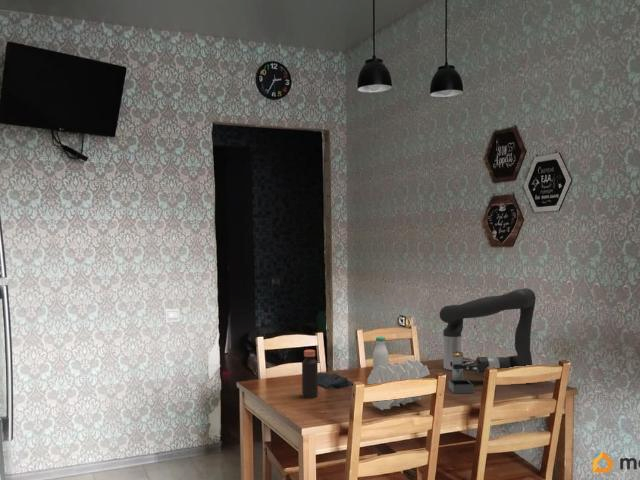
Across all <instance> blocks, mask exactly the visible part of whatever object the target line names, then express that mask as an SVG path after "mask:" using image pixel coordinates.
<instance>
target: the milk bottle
mask: <svg viewBox="0 0 640 480" xmlns="http://www.w3.org/2000/svg"><path fill="white" fill-rule="evenodd" d="M375 343H376V344H375V347H374V349H373V353H372V370H374V369H376V368H378V366H382V367H384V366H388V365H390V361H389V358H390V357H389V352H388V349H387V346H386V337H384V336H377V337H376V336H375Z"/></svg>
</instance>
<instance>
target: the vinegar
mask: <svg viewBox="0 0 640 480" xmlns="http://www.w3.org/2000/svg"><path fill="white" fill-rule="evenodd" d="M303 356H304V359H303V361H302V362H301V381H302V382H301V383H302V384H301V385H302V386H301V391H302V392H301V393H302V394H301V396H302V397H303V398H304V399H315V398H317V397H318V395H319V386H318V373H319V372H318V368H319V367H318V361H317V360H316V359H315V357H316V350H314V349H305V350H304V351H303Z"/></svg>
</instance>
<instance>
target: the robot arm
mask: <svg viewBox="0 0 640 480" xmlns="http://www.w3.org/2000/svg"><path fill="white" fill-rule="evenodd" d="M536 301H537V297H536V293H535V292H534V291H533V290H532V289H531V288H528V287H527V288H526V287H525V288H518V289H515V290H512V291H509V292H507V293H505V294H501V295H489V296H483V297H480V298H476V299H473V300H472V299H471V300H470V301H467V302H464V303H460V304H449V305H445V306H443V307H442V308H441V309H440V311H439V318H440V320H441V321H442V322H444V323H445V324H447V325H446V327H445V328H444V329H443V331H442V333H443V334H442V339H443V341H442V342H443V343H442V344H443V345H442V346H443V349H442V351H443V354H442V355H443V360H442V361H443V369H445V370H449V371H452V352H462V333H463V330H464V319H476V318H483V317H488V316H493V315H496V314H499V313H500V312H503V311H510V310H520V311H519V318H518V323H517V326H516V329H515V334H514V351H515V352H516V355H509V356H499V357H497V356H496V357H495V356H477V357H476V359H475V360H473V359H463V364H462V365H461V364H453V369H462V370H463V372H477V373H478V374H485V373H484V372H485V369H486V368H487V367H495V368H509V367H514V366H526V365H532V366H533V359H532V352H531V335H532V334H531V333H532V322H533V316H534V311H535V306H536Z"/></svg>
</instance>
